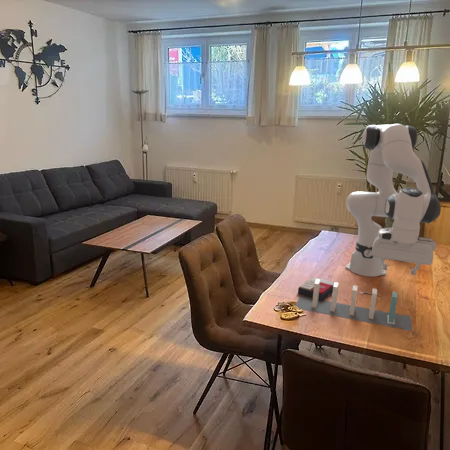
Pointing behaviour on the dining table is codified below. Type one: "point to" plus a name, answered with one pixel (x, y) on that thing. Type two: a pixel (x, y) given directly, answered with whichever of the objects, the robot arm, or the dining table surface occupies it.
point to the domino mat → (355, 313)
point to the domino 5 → (393, 307)
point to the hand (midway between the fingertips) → (398, 271)
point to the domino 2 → (334, 296)
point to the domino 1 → (316, 293)
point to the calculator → (324, 289)
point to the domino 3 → (353, 300)
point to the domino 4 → (372, 303)
